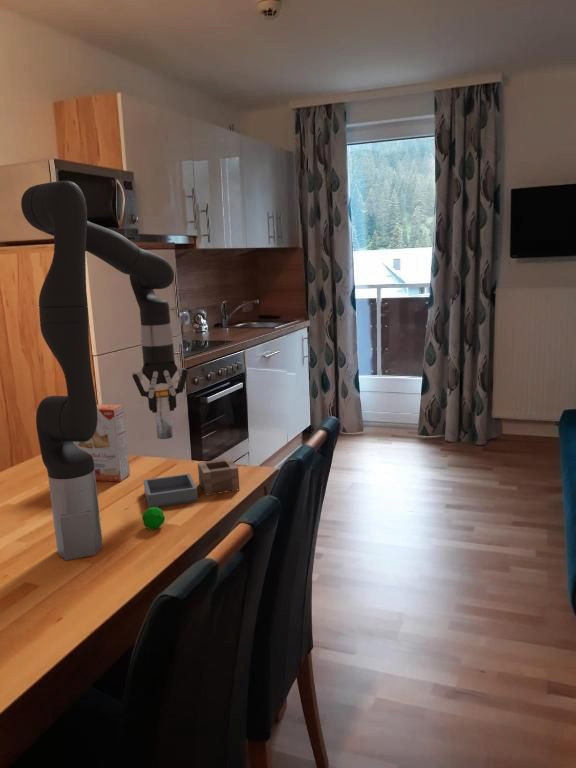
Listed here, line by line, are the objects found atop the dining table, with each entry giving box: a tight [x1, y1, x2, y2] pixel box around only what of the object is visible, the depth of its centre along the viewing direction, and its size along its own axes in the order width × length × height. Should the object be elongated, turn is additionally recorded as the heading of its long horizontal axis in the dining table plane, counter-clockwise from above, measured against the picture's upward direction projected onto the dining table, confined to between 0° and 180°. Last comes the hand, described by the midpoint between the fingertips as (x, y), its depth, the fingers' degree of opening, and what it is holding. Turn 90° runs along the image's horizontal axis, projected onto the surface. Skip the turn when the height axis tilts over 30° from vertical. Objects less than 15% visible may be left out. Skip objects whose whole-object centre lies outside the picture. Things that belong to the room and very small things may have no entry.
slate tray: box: [143, 473, 199, 509], centre depth 164 cm, size 12×12×4 cm
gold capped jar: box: [153, 387, 174, 440], centre depth 160 cm, size 4×4×12 cm
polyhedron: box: [141, 507, 165, 531], centre depth 145 cm, size 5×5×5 cm
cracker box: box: [73, 403, 131, 483], centre depth 179 cm, size 14×6×21 cm, turn 76°
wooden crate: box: [197, 457, 240, 496], centre depth 169 cm, size 9×9×6 cm
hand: (163, 410), depth 160 cm, fingers closed on gold capped jar, 4 cm apart
